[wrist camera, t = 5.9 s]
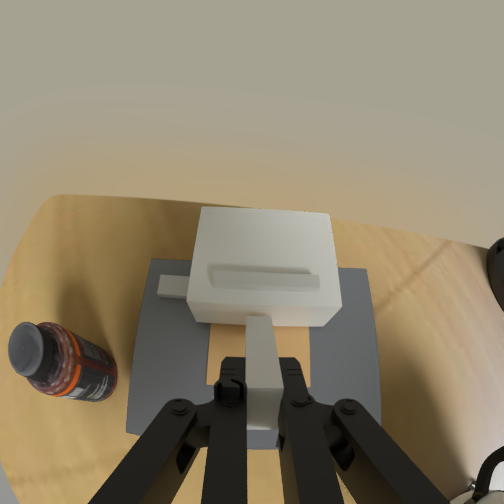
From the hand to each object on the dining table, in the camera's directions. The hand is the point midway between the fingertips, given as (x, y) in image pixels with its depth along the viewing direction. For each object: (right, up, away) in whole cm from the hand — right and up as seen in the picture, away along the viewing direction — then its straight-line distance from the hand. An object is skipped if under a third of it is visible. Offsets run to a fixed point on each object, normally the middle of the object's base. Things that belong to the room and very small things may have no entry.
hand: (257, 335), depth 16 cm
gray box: (0, -5, +8) cm, 9 cm away
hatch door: (0, +3, +4) cm, 5 cm away
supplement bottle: (-16, -7, +6) cm, 19 cm away
